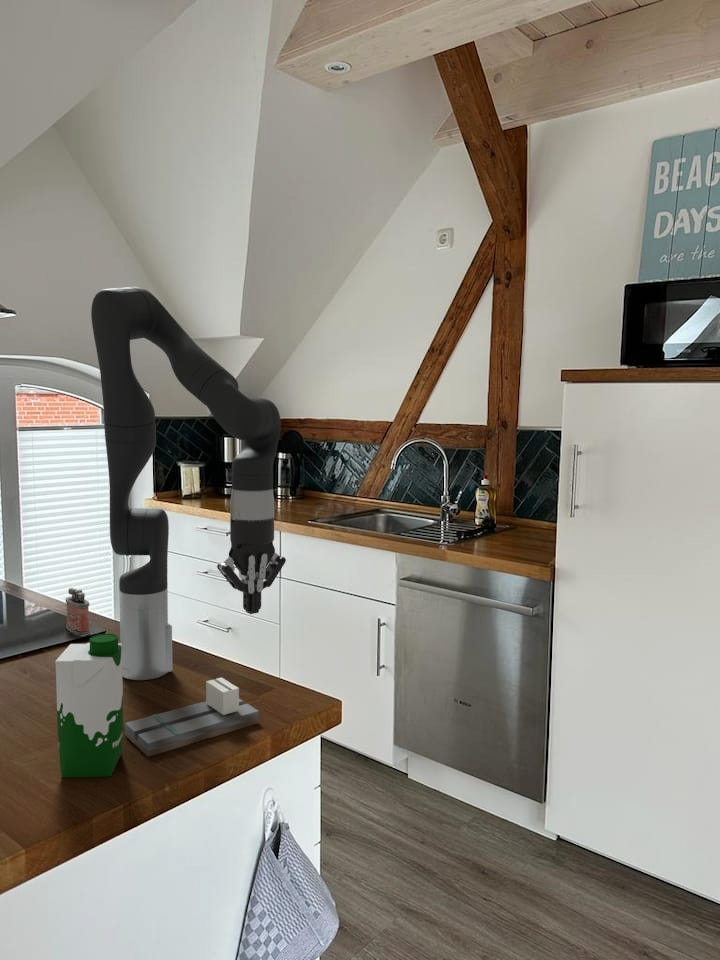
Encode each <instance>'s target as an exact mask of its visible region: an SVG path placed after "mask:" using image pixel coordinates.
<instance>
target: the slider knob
mask: <svg viewBox="0 0 720 960" xmlns="http://www.w3.org/2000/svg"><path fill="white" fill-rule="evenodd" d="M205 687H206V688H205V689H206V690H205V694H206V695H205V697H206V699H205V701H206V703H207V704H208V705H209V706H211V707H212V708H214V709H215V710H217V712H219V713H221V714H222V715H226V714H229V713H232V712H236V711H239V699H240V688H239V687H238V686H236V685H234V684H232V683H231V682H230V681H229V680H226V678H223V677H221V676H220V677H219V678H218V677H217V678H214V679H209V680H206V682H205Z"/></svg>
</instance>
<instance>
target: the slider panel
mask: <svg viewBox="0 0 720 960" xmlns="http://www.w3.org/2000/svg"><path fill="white" fill-rule="evenodd" d="M259 712H260V711H259V710H258V709H257V708H255V707H253V706H252V705H250V704H249V703H244V700H242V699H241V698H239V711H236V712H232V713H229V714H226V715H222V714H221V713H219V712H217V710H215V709H214V708H212V707H211V706H209V705H208V704H207V703H206V700H204V701H201V702H197V703H194V704H191V705H186V706H184V707H183V706H182V707H180V708H179V707H178V708H175V709H172V710H169V711H165V712H160V713H154V714H151V715H149V716H146V717H142V718H138V719H134V720H131V721H128V722H125V723H124V728H125V729H124V730H125V731H124V732H125V733H124V734H125V737H126V738H127V739H128V740H129V739H130V742H132V743H133V744H134V745H135V746H136V747H137V748H138V749H139V750H140V751H141V752H142V753H143V754H144V755H145V756H146V757H148V758H149V757H152V756H155V755H159V754H162V753H165V752H168V751H172V750H176V749H178V748H182V747H184V746H189V745H191V743H192V744H194V742H195V743H197V742H200V741H201V740H202V741H204V739H205V740H208V739H211V738H214V737H218V736H221V735H224V734H228V733H231V732H234V731H237V730H241V729H244V728H247V727H250V726H253V725H256V724H260V723H259V722H260V721H259V716H260V715H259ZM207 738H208V739H207Z"/></svg>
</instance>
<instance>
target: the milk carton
mask: <svg viewBox="0 0 720 960" xmlns="http://www.w3.org/2000/svg"><path fill="white" fill-rule="evenodd" d="M54 662H55V663H54V664H55V678H56V679H55V680H56V682H55V684H56V688H55V689H56V715H57V716H56V719H57V721H56V723H57V744H58V746H57V747H58V753H59V754H58V755H59V765H60V766H59V767H60V773H61V777H60V778H65V779H67V778H101V777H102V778H103V777H104V778H105V777H106V778H109V777H112V775H113V773H114V770H115V768H116V766H117V764H118V762H119V760H120V758H121V755H122V753H123V752H122V751H123V750H122V749H123V738H124V737H123V736H124V695H123V694H124V693H123V687H124V686H123V676H122V643H120V642H119V636H118V635H117V634H114V633H101V634H96V635H95V634H94V635H93V636H91V637H90V638H89V642H86V643H70V644H69V645H68V646H67V647H66V649H65V650H64V651H63V652H62V653H61V654H60V655H59V657H57V658H56V660H55V661H54Z"/></svg>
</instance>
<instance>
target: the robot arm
mask: <svg viewBox="0 0 720 960" xmlns="http://www.w3.org/2000/svg"><path fill="white" fill-rule="evenodd" d="M90 314H91V315H90V318H91V324H92V325H91V326H92V332H93V338H94V343H95V348H96V355H97V356H96V357H97V360H98V367H99V375H100V382H101V383H100V384H101V385H100V386H101V395H102V404H103V405H102V407H103V425H104V426H103V427H104V440H105V449H106V459H107V467H108V479H109V481H108V483H109V539H110V544H111V545H110V546H111V548H112V551H113V552H114V553H115V555H118V556H149V561H148V562H146V563H145V564H144V565H142V566H140V567H138V568H135V569H131V570H129V571H126V572H124V573H123V574H122V575H120V577H119V581H118V589H119V591H118V592H119V635H120V636H119V638H120V639H119V640H120V641H119V643H122V678H124V679H127V680H132V681H145V680H146V681H147V680H154V679H157V678H160V677H162V676H165V675H166V674H168V673H170V672H173V626H172V625H171V624H170V623H169V614H168V613H169V610H168V609H169V608H168V607H169V604H168V597H169V596H168V553H169V535H170V533H169V529H170V528H169V527H170V524H169V517H168V514H167V512H166V511H165V510H164V509H162V508H130V507H129V500H130V499H129V497H130V494H131V491H132V489H133V487H134V485H135V483H136V481H137V479H138V477H139V475H141V473H142V472H143V470H144V469H145V466H146V465H147V463H148V462H149V460H150V459H151V458H152V456H153V453H154V451H155V448H156V446H157V429H156V428H157V427H156V425H157V424H156V413H155V412H156V411H155V409H154V405H153V403H152V401H151V399H150V397H149V396H148V394H147V392H146V391H145V390H144V388H143V387H142V385H141V383H140V382H139V380H138V379H137V377H136V374H135V372H134V369H133V363H132V355H131V341H133V340H139V339H145V340H147V341H150V342H151V343H152V344H154V345H155V346H157V347H158V348H160V350H162V351H163V353H164V354H165V355H166V356H167V359H168V360H169V363H170V366H171V369H172V371H173V373H174V376H175V377H176V379H177V380H178V381H179V383H180V384H181V385H182V386H183V388H185V389H186V391H188V392H189V393H191V395H193V396H194V397H195V398H196V400H199V401H200V403H202V404H203V405H205V407H207V409H208V410H209V412H210V413H211V415H212V416H213V418H214V419H215V420H216V422H217V423H218V424H219V425H220V426H221V428H222V429H223V430H224V431H225V432H226V433H227V434H229V435H230V436H232V437H233V438H235V439H236V440H240V441H243V445H242V450H241V452H240V453H239V454H237V455H236V456H235V457H234V458H233V460H232V464H231V494H230V495H231V496H230V505H229V507H230V508H229V510H230V512H229V514H230V515H229V518H230V520H229V521H230V522H229V524H230V527H229V528H230V529H229V531H230V532H229V533H230V534H229V535H230V538H229V539H230V548H229V552H228V557H227V558H226V559H225V560H224V561H223V562H219V563H217V566H216V568H217V569H218V571H219V572H220V573H221V574H222V576H223V577H224V578H225V580H226V581H227V582H228V583H229V585H230V586H231V587H232V588H233V589H234V590H237V591H239V592H241V593H242V608H243V610H244V611H245V612H246V614H247V613H248V614H249V615H254V614H259V612H260V610H261V609H262V591H263V590H264V589H267V588H271V586H272V584H273V583H274V581H275V580H276V578H277V576H279V573H280V572H281V570H282V568H283V567H284V566H285V564H286V562H287V559H286V557H285V556H280V555H279V554H278V553H277V552H276V548H275V546H274V543H273V542H274V540H275V497H274V461H275V457H276V454H277V450H278V445H279V440H280V435H281V426H282V425H281V424H282V421H281V415H280V411H279V409H278V407H277V406H276V404H275V403H274V402H273V401H272V400H270V399H267V398H262V397H261V398H259V397H256V398H255V397H254V398H251V397H247V396H246V395H245V394H243V393H242V392H241V391H240V390H239V381H238V380H237V378H235V376H234V375H232V374H231V373H230V372H229V371H228V370H227V369H226V368H225V367H224V366H222V365H221V364H220V363H218V362H217V361H216V360H215V359H213V358H212V357H211V355H209V354H208V353H206V351H205V350H203V349H202V347H200V346H199V345H198V344H197V343H196V342H195V341H194V340H193V339H192V337H190V335H188V333H187V332H186V331H185V330H184V328H183V327H182V326H181V325H180V323H178V321H177V320H176V319H175V318H174V317H173V315H171V314H170V312H169V311H168V310H167V309H166V307H165V306H164V305H163V304H162V302H160V301H159V299H158V298H157V297H156V296H155V295H154V294H153V293H152V292H150V291H149V290H147V289H146V288H143V287H139V286H128V287H127V286H126V287H113V288H104V289H101V290H99V291H98V292H97V293H96V294H95V295H94V297H93V299H92V302H91V310H90ZM235 567H236V568H235ZM236 569H237V570H238V575H237V573H236V572H235V570H236Z"/></svg>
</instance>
